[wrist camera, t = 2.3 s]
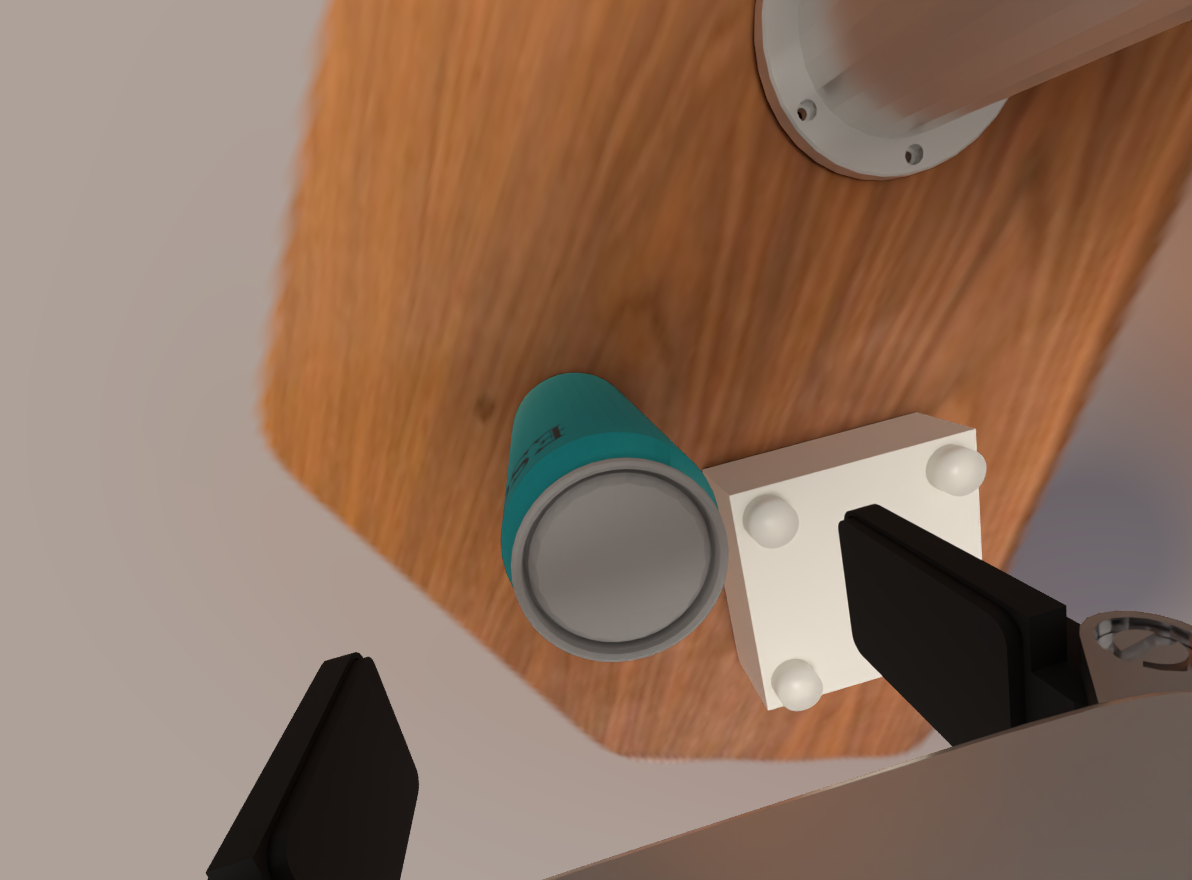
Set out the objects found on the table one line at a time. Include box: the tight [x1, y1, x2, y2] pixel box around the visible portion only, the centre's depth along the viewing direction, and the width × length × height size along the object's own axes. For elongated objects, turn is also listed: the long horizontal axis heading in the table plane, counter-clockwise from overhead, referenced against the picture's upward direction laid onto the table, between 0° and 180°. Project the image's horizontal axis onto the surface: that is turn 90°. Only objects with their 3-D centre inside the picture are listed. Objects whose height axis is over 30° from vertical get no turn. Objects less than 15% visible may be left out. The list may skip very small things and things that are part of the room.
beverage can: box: [501, 373, 729, 662], centre depth 20 cm, size 6×6×15 cm
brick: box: [702, 412, 986, 711], centre depth 28 cm, size 12×12×5 cm
